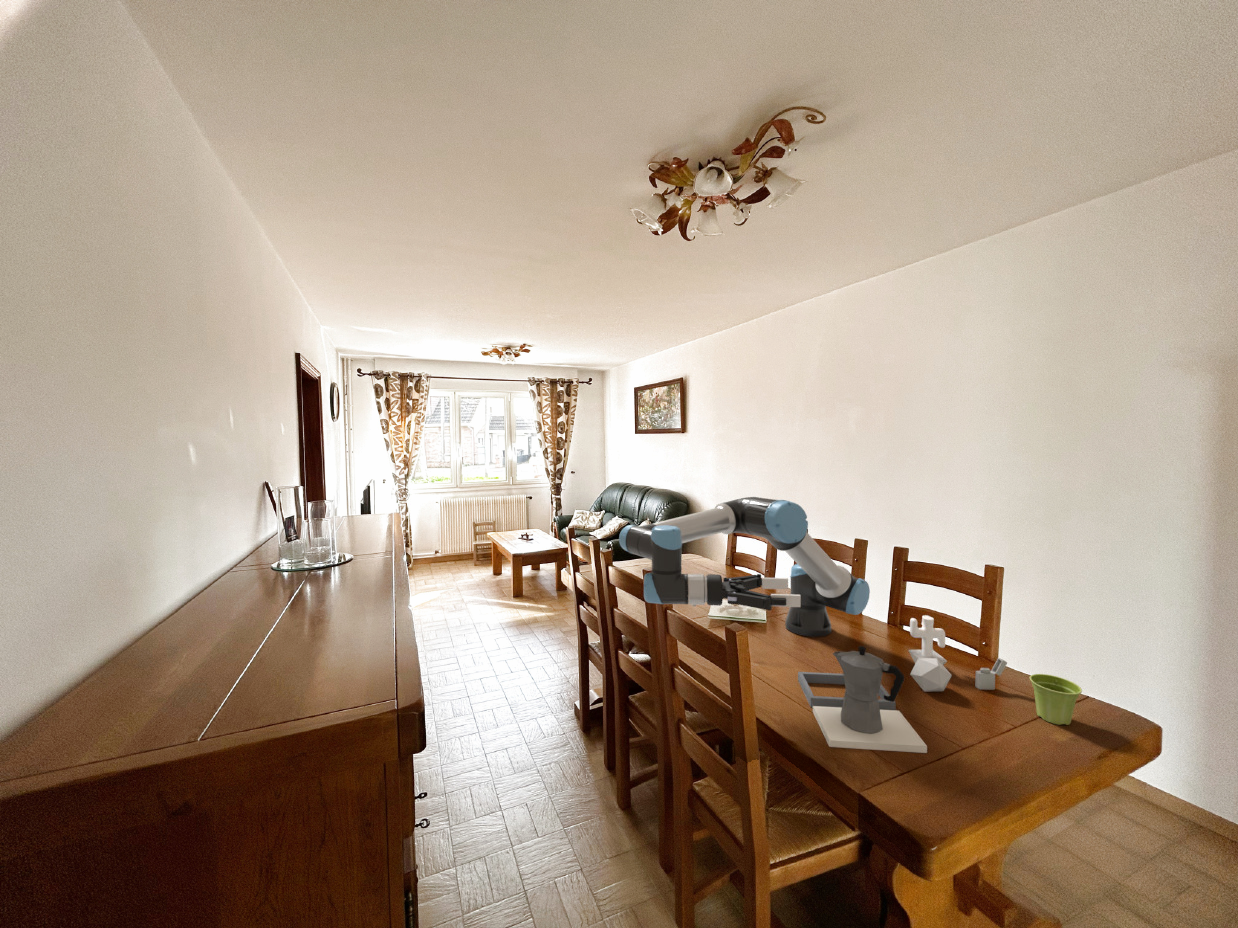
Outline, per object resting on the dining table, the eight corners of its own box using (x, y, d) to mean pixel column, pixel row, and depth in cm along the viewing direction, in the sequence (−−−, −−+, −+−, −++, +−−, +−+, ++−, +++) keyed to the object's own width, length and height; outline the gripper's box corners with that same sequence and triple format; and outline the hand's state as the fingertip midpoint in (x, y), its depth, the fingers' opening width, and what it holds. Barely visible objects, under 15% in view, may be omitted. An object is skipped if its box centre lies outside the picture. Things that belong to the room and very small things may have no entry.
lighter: (979, 689, 133) (979, 659, 133) (974, 686, 135) (975, 657, 134) (1006, 689, 133) (1007, 660, 132) (1002, 686, 134) (1003, 657, 134)
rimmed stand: (797, 680, 139) (798, 671, 139) (873, 683, 137) (873, 675, 136) (810, 707, 125) (810, 697, 125) (895, 711, 123) (895, 702, 123)
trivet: (812, 711, 123) (812, 705, 123) (898, 716, 121) (898, 710, 121) (829, 746, 109) (829, 740, 109) (926, 752, 107) (927, 746, 107)
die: (949, 702, 128) (962, 668, 130) (917, 684, 129) (930, 650, 132) (930, 698, 136) (942, 665, 138) (900, 680, 137) (912, 648, 139)
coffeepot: (824, 719, 117) (824, 644, 116) (840, 704, 124) (841, 633, 123) (896, 748, 106) (897, 665, 105) (909, 729, 113) (911, 651, 112)
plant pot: (1081, 718, 119) (1082, 682, 119) (1079, 735, 112) (1080, 697, 112) (1030, 703, 126) (1032, 670, 125) (1026, 718, 119) (1027, 683, 119)
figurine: (950, 673, 142) (952, 621, 141) (916, 672, 143) (917, 621, 142) (936, 661, 149) (937, 612, 148) (904, 661, 150) (904, 612, 149)
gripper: (703, 589, 137) (783, 591, 135) (708, 622, 113) (806, 625, 110) (703, 562, 137) (783, 563, 134) (708, 589, 112) (806, 592, 110)
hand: (793, 591), depth 122 cm, fingers open, 13 cm apart
